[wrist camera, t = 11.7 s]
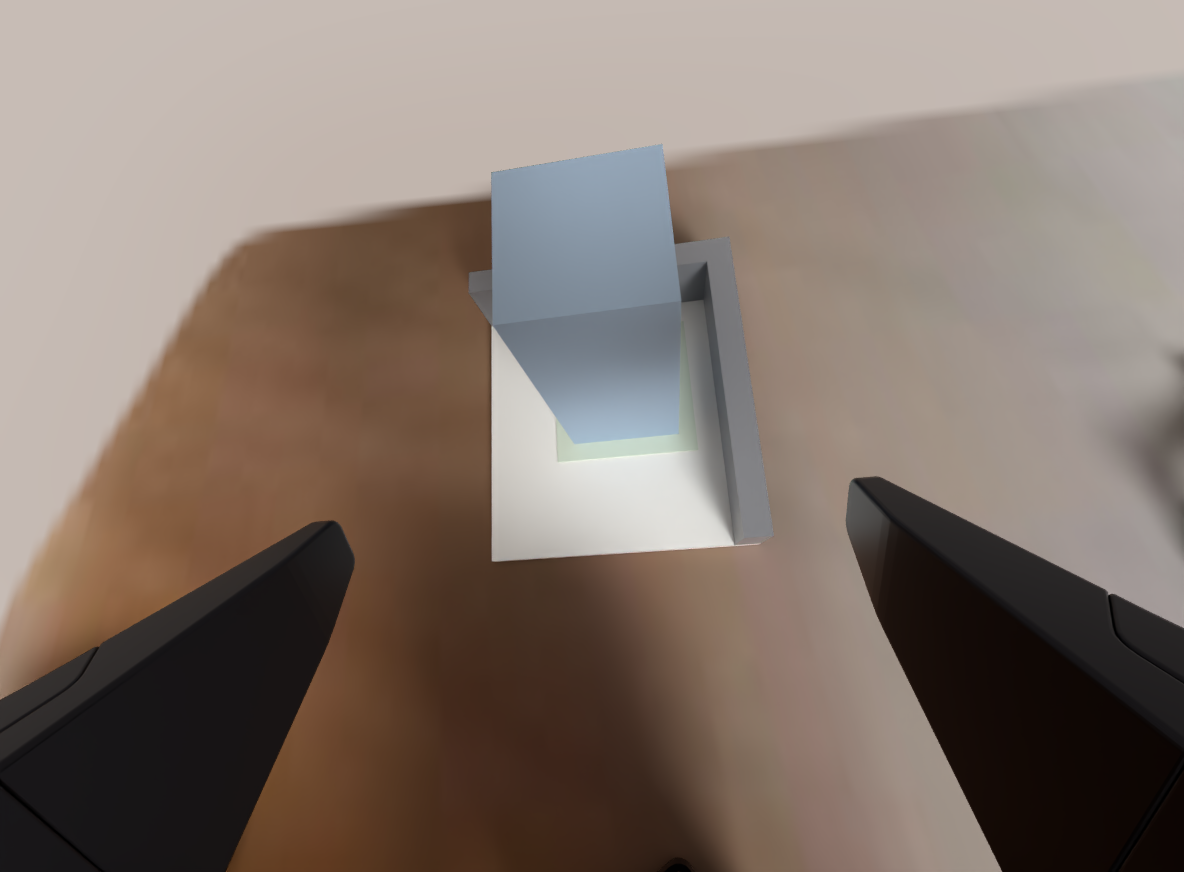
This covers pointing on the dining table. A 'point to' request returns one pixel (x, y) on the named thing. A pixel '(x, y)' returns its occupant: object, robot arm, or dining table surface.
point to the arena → (636, 444)
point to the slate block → (591, 290)
